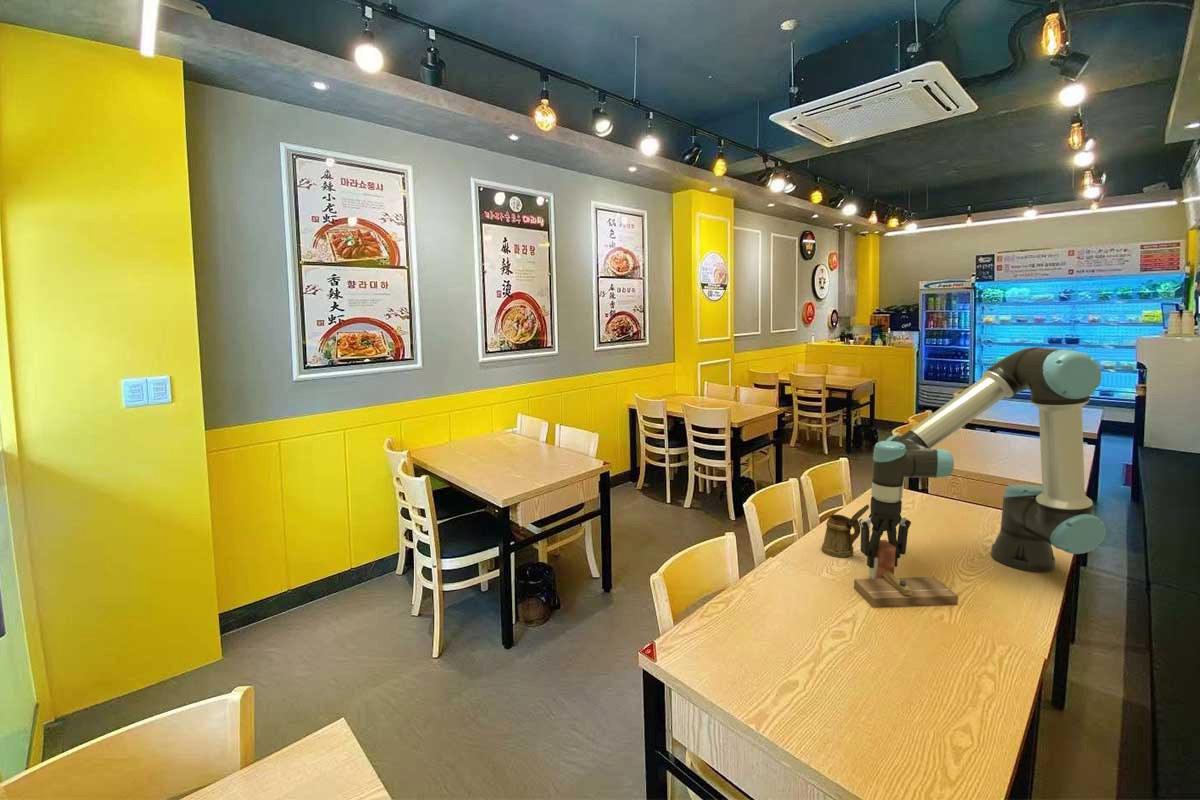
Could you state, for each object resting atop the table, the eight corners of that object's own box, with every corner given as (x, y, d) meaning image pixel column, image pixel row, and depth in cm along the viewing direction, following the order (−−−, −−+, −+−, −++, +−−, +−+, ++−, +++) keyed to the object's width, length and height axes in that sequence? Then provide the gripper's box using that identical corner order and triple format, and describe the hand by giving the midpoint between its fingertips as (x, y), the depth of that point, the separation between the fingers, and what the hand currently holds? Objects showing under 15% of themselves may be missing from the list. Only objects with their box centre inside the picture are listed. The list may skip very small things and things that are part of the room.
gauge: (883, 576, 153) (885, 539, 152) (914, 604, 139) (917, 564, 137) (869, 576, 153) (871, 540, 152) (899, 604, 139) (902, 564, 137)
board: (932, 585, 148) (933, 576, 148) (957, 604, 138) (958, 595, 138) (853, 587, 148) (854, 579, 147) (872, 607, 138) (873, 598, 138)
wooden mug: (858, 565, 160) (861, 508, 157) (816, 550, 171) (818, 496, 168) (872, 557, 166) (876, 501, 163) (831, 542, 176) (833, 490, 173)
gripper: (909, 492, 151) (903, 570, 155) (848, 494, 150) (844, 572, 154) (925, 501, 143) (919, 583, 147) (862, 503, 143) (857, 585, 147)
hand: (881, 577), depth 151 cm, fingers closed on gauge, 4 cm apart
